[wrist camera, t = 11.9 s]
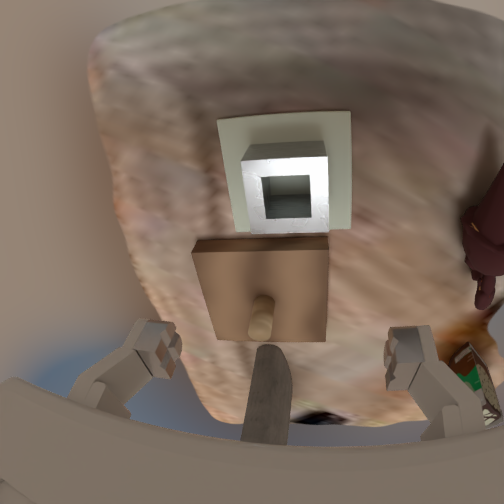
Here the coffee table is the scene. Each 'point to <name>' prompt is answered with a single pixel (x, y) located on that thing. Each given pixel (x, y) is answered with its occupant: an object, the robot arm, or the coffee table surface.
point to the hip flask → (268, 399)
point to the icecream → (485, 241)
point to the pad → (291, 130)
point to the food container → (477, 382)
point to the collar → (293, 205)
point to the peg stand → (265, 287)
